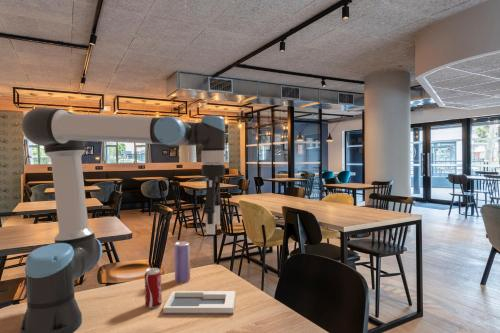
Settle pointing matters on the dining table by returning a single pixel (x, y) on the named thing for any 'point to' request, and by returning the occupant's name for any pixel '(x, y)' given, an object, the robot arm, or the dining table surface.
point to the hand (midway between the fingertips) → (213, 228)
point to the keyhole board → (200, 303)
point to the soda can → (153, 288)
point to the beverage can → (182, 261)
